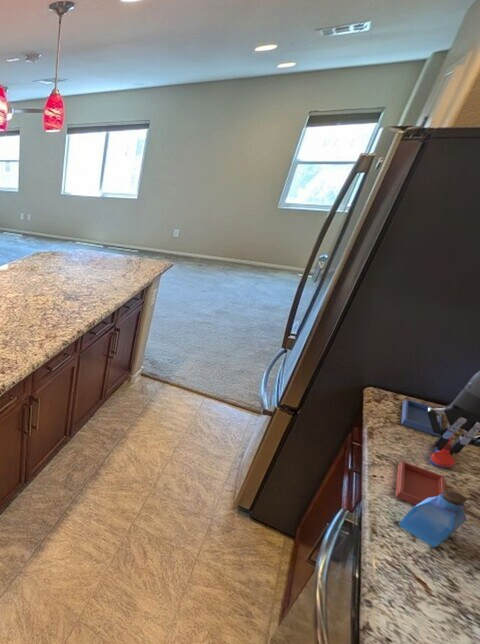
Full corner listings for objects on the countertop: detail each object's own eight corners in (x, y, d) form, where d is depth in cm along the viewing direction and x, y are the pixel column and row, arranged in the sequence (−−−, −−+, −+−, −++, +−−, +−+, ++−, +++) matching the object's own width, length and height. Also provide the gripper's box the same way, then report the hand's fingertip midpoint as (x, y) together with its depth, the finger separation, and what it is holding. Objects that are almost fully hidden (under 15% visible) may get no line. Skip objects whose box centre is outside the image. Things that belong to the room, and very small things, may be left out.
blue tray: (402, 403, 126) (406, 398, 125) (437, 414, 121) (441, 409, 120) (401, 424, 118) (404, 419, 117) (438, 436, 113) (442, 431, 112)
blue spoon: (428, 443, 111) (432, 439, 110) (447, 449, 109) (450, 445, 108) (429, 463, 104) (432, 459, 104) (448, 470, 102) (452, 466, 101)
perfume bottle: (412, 515, 91) (443, 480, 85) (448, 537, 86) (483, 502, 80) (398, 524, 89) (428, 489, 83) (434, 547, 84) (469, 512, 78)
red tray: (397, 465, 104) (401, 460, 103) (440, 481, 99) (444, 476, 98) (395, 497, 95) (399, 491, 94) (441, 516, 91) (446, 510, 90)
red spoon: (433, 434, 97) (437, 430, 96) (455, 441, 95) (459, 437, 94) (429, 462, 92) (433, 457, 91) (451, 470, 90) (456, 466, 89)
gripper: (539, 398, 82) (485, 456, 91) (445, 374, 91) (404, 429, 99) (545, 415, 78) (488, 474, 86) (446, 387, 86) (403, 444, 95)
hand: (443, 450), depth 93 cm, fingers closed on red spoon, 1 cm apart
